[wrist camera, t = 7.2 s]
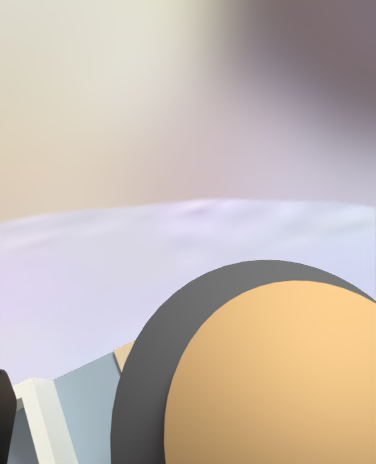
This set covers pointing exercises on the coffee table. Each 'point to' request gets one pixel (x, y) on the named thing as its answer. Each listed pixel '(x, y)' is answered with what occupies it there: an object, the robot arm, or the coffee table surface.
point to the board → (68, 414)
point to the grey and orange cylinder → (252, 372)
